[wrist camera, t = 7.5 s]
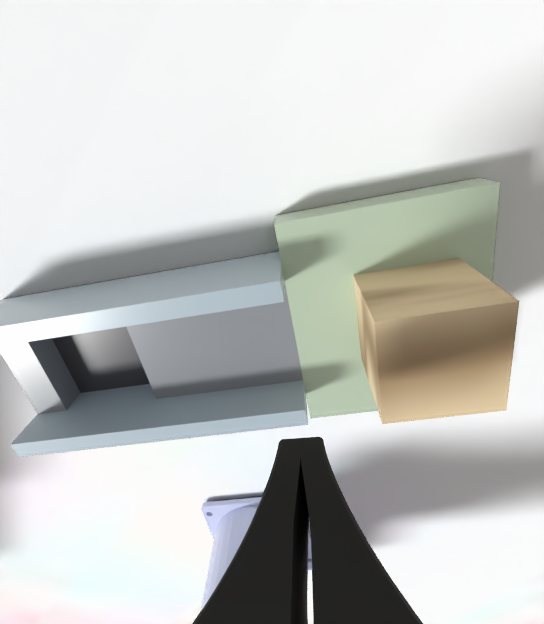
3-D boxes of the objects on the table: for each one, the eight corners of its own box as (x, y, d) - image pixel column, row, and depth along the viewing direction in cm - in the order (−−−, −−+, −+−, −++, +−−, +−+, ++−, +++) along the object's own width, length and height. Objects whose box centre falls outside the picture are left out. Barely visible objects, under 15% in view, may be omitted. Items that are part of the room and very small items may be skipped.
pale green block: (467, 377, 22) (506, 430, 18) (74, 425, 26) (34, 479, 22) (478, 177, 17) (535, 190, 13) (-15, 269, 21) (-89, 302, 17)
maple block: (455, 346, 19) (506, 410, 15) (361, 358, 20) (382, 424, 15) (458, 257, 17) (519, 301, 13) (353, 274, 18) (374, 322, 13)
